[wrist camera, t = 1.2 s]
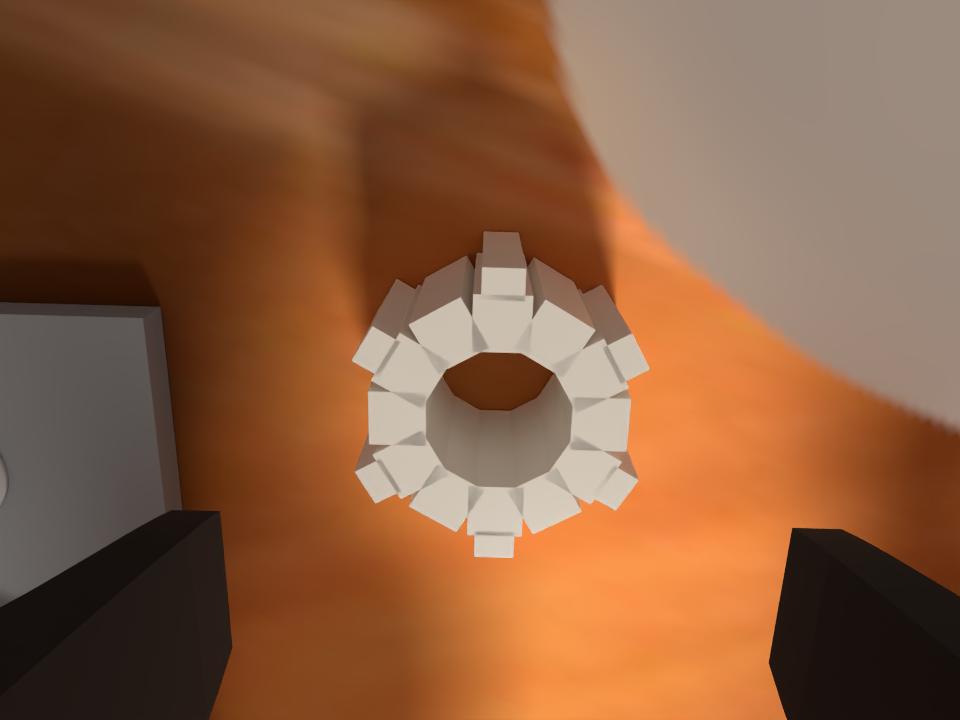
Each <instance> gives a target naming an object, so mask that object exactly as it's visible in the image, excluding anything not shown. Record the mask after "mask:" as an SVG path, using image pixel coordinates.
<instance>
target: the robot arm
mask: <svg viewBox="0 0 960 720" xmlns="http://www.w3.org/2000/svg"><path fill="white" fill-rule="evenodd" d="M231 650H232V638H231V627H230V616H229V605H228V594H227V583H226V572H225V561H224V550H223V539H222V528H221V517H220V511H189V510H171V511H169V512H167V513H164V514H162V515H160V516H158V517H156V518H154V519H152V520H151V521H149V522H147V523H145V524H143V525H142V526H140V527H138V528H136V529H135V530H133V531H131V532H129V533H128V534H126V535H124V536H122V537H121V538H119V539H117V540H116V541H114V542H112V543H111V544H109V545H107V546H106V547H104V548H102V549H101V550H99V551H97V552H96V553H94V554H92V555H90V556H89V557H87V558H85V559H84V560H82V561H80V562H79V563H77V564H75V565H73V566H72V567H70V568H68V569H67V570H65V571H63V572H62V573H60V574H58V575H56V576H55V577H53V578H51V579H50V580H48V581H46V582H45V583H43V584H41V585H39V586H38V587H36V588H34V589H33V590H31V591H29V592H27V593H25V594H24V595H22V596H20V597H18V598H16V599H14V600H13V601H11V602H9V603H7V604H5V605H3V606H1V607H0V720H209V717H210V714H211V711H212V708H213V705H214V702H215V699H216V696H217V694H218V691H219V688H220V685H221V681H222V678H223V675H224V672H225V669H226V666H227V662H228V659H229V656H230V653H231ZM769 665H770V668H771V671H772V675H773V678H774V681H775V684H776V687H777V691H778V694H779V697H780V700H781V703H782V706H783V709H784V712H785V715H786V718H787V720H960V597H959V596H958V595H956V594H954V593H953V592H951V591H949V590H948V589H946V588H944V587H943V586H941V585H939V584H938V583H936V582H934V581H933V580H931V579H929V578H928V577H926V576H924V575H923V574H921V573H919V572H918V571H916V570H914V569H913V568H911V567H909V566H908V565H906V564H904V563H903V562H901V561H899V560H898V559H896V558H894V557H892V556H891V555H889V554H887V553H886V552H884V551H882V550H880V549H879V548H877V547H875V546H873V545H871V544H870V543H868V542H866V541H864V540H862V539H860V538H858V537H856V536H854V535H852V534H850V533H848V532H846V531H844V530H841V529H810V528H792V533H791V539H790V545H789V550H788V556H787V562H786V567H785V573H784V579H783V585H782V590H781V596H780V602H779V607H778V613H777V619H776V624H775V630H774V636H773V642H772V647H771V653H770V659H769Z"/></svg>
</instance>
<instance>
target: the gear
mask: <svg viewBox="0 0 960 720" xmlns="http://www.w3.org/2000/svg"><path fill="white" fill-rule="evenodd" d="M480 352H497V353H522V354H523V355H525V356H527V357H529V358H530V359H532V360H534V361H535V362H537V363H539V364H540V365H542V366H544V367H545V368H547V369H549V370H551V371H552V372H554V374H553V375H552V377H551V378H550V380H549V381H548V382H547V384H546V385H545V387H544V388H543V390H542V391H541V393H540V394H539V396H538V397H537V398H535V399H533V400H531V401H529V402H527V403H525V404H523V405H521V406H519V407H517V408H515V409H513V410H511V411H500V410H479V409H477V408H475V407H474V406H472V405H470V404H469V403H467V402H465V401H463V400H462V399H460V398H458V397H456V396H455V395H453V393H452V391H451V390H450V388H449V386H448V385H447V383H446V381H445V380H444V378H443V376H442V375H443V374H444V372H445V371H446V370H447V369H449V368H451V367H453V366H455V365H457V364H459V363H461V362H463V361H464V360H466V359H468V358H470V357H472V356H474V355H476V354H478V353H480ZM352 361H353V362H354V363H356V364H358V365H360V366H361V367H363V368H365V369H367V370H368V371H370V372H372V373H374V374H373V377H372V379H371V381H372V383H371V385H370V388H369V390H368V418H369V433H368V436H367V439H366V442H365V444H364V447H363V450H362V453H361V455H360V458H359V461H358V464H357V466H356V469H355V473H356V475H357V476H358V478H359V479H360V481H361V482H362V484H363V486H364V487H365V489H366V490H367V492H368V493H369V495H370V496H371V498H372V499H373V501H374V502H375V504H376V503H378V502H380V501H382V500H384V499H386V498H388V497H390V496H392V495H394V494H396V493H397V494H398V496H399V497H400V499H402V498H404V497H406V496H408V495H410V494H411V499H410V504H409V507H411V508H412V509H414V510H416V511H418V512H420V513H422V514H424V515H425V516H427V517H429V518H431V519H433V520H435V521H436V522H438V523H440V524H442V525H444V526H446V527H448V528H449V529H451V530H453V531H455V532H457V530H458V529H459V527H460V526H461V525H462V523H463V522H464V520H465V519H466V517H467V516H468V525H467V535H475V542H474V557H500V558H513V552H514V536H515V537H522V519H524V520H525V522H526V524H527V525H528V527H529V529H530V530H531V532H532V534H535V533H537V532H539V531H541V530H543V529H546V528H548V527H550V526H552V525H554V524H556V523H559V522H561V521H563V520H565V519H567V518H569V517H571V516H574V515H576V514H578V513H580V512H582V510H581V506H580V501H579V498H580V499H582V500H583V501H585V502H587V503H589V504H590V505H591V503H592V502H593V501H594V499H596V500H598V501H599V502H601V503H603V504H605V505H606V506H608V507H610V508H612V509H614V510H615V511H616V510H617V508H618V507H619V506H620V504H621V503H622V502H623V500H624V499H625V498H626V496H627V495H628V494H629V492H630V491H631V490H632V488H633V487H634V486H635V485H636V483H637V482H638V481H639V479H638V477H637V474H636V471H635V469H634V466H633V464H632V461H631V459H630V456H629V454H628V451H627V440H628V429H629V418H630V408H631V397H630V395H629V393H628V391H627V389H628V388H629V386H628V384H627V382H626V381H627V380H629V379H631V378H633V377H636V376H638V375H640V374H642V373H644V372H646V371H648V370H650V368H649V366H648V364H647V362H646V360H645V358H644V356H643V354H642V352H641V350H640V348H639V346H638V344H637V342H636V340H635V338H634V336H633V334H632V333H631V331H630V329H629V328H628V326H627V324H626V323H625V321H624V319H623V318H622V316H621V314H620V313H619V311H618V309H617V308H616V306H615V304H614V303H613V301H612V299H611V298H610V296H609V294H608V293H607V291H606V290H605V288H604V286H603V285H600V286H598V287H596V288H594V289H592V290H590V291H588V292H586V293H584V294H583V293H582V291H581V289H578V290H577V288H576V286H575V284H574V281H572V280H570V279H569V278H567V277H565V276H564V275H562V274H561V273H559V272H557V271H556V270H554V269H552V268H551V267H549V266H548V265H546V264H544V263H543V262H541V261H539V260H538V259H536V258H535V257H534V258H533V259H532V261H531V262H530V264H529V265H528V267H527V264H526V260H525V255H524V254H523V250H522V246H521V241H520V236H519V232H489V231H484V234H483V253H476V265H475V269H474V267H473V265H472V264H471V262H470V260H469V258H468V256H467V255H466V256H464V257H462V258H461V259H459V260H457V261H455V262H453V263H451V264H449V265H448V266H446V267H444V268H442V269H440V270H438V271H436V272H435V273H433V274H431V275H429V276H427V277H425V280H424V283H423V286H421V285H419V284H418V286H417V287H416V289H414V288H412V287H410V286H409V285H407V284H405V283H404V282H402V281H400V280H398V279H396V280H395V282H394V284H393V285H392V287H391V289H390V291H389V292H388V294H387V296H386V297H385V299H384V301H383V302H382V304H381V306H380V308H379V310H378V311H377V313H376V315H375V317H374V319H373V321H372V323H371V325H370V327H369V328H368V330H367V332H366V334H365V336H364V338H363V340H362V342H361V344H360V346H359V347H358V349H357V351H356V353H355V355H354V357H353V359H352Z"/></svg>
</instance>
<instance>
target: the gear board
mask: <svg viewBox="0 0 960 720" xmlns="http://www.w3.org/2000/svg"><path fill="white" fill-rule="evenodd" d="M171 510H183V509H182V499H181V490H180V481H179V472H178V462H177V453H176V444H175V435H174V425H173V416H172V407H171V398H170V388H169V379H168V370H167V361H166V351H165V342H164V333H163V324H162V314H161V307H149V306H114V305H79V304H43V303H8V302H0V607H1V606H3V605H5V604H7V603H9V602H11V601H13V600H14V599H16V598H18V597H20V596H22V595H24V594H25V593H27V592H29V591H31V590H33V589H34V588H36V587H38V586H39V585H41V584H43V583H45V582H46V581H48V580H50V579H51V578H53V577H55V576H56V575H58V574H60V573H62V572H63V571H65V570H67V569H68V568H70V567H72V566H73V565H75V564H77V563H79V562H80V561H82V560H84V559H85V558H87V557H89V556H90V555H92V554H94V553H96V552H97V551H99V550H101V549H102V548H104V547H106V546H107V545H109V544H111V543H112V542H114V541H116V540H117V539H119V538H121V537H122V536H124V535H126V534H128V533H129V532H131V531H133V530H135V529H136V528H138V527H140V526H142V525H143V524H145V523H147V522H149V521H151V520H152V519H154V518H156V517H158V516H160V515H162V514H164V513H167V512H169V511H171Z"/></svg>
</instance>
